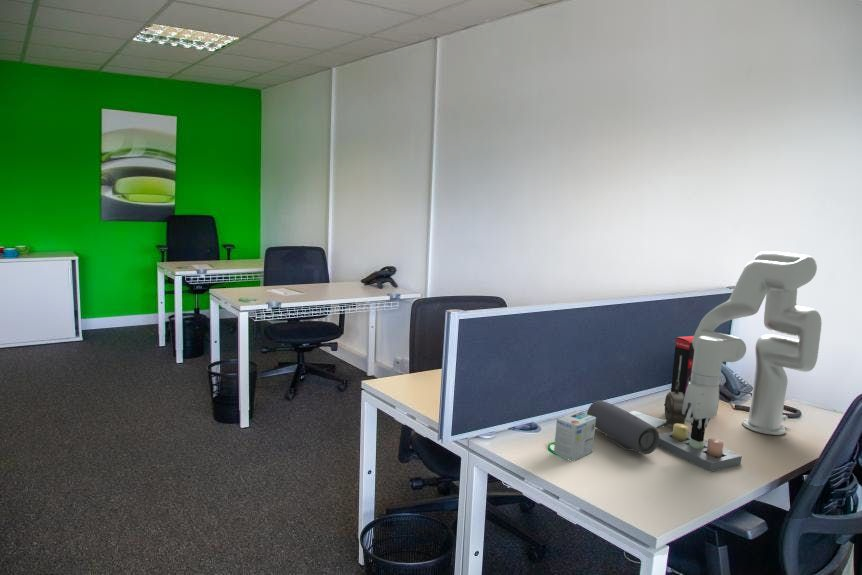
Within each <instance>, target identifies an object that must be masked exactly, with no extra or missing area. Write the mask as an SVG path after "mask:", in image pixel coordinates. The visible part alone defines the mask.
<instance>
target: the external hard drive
mask: <svg viewBox="0 0 862 575" xmlns="http://www.w3.org/2000/svg"><path fill="white" fill-rule="evenodd" d="M629 413H631V414H633V415H634V416H636V417H638V418H640V419H642V420H643V421H645V422H647V423H648V424H650V425H652V426H653V427H654V428H656V429H657V430H659V429H661V428H663V426H664V427H666V426H667V425H666V423H667V422H666V420H665V419H661V418H657V417H655V416H652V415H648V414H645V413H643V412H639V411H636V410H632V411H629ZM665 425H666V426H665Z"/></svg>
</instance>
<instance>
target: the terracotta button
mask: <svg viewBox="0 0 862 575" xmlns="http://www.w3.org/2000/svg"><path fill="white" fill-rule="evenodd" d="M707 441H708V445H707V453H706V454H708V455H710V456H712V457H715V458H720V457H722V452H723V448H724V446H725V445H724V441H723V440H721V439H717V438H708V439H707Z"/></svg>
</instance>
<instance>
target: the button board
mask: <svg viewBox="0 0 862 575" xmlns="http://www.w3.org/2000/svg"><path fill="white" fill-rule="evenodd" d="M672 435H673V431H671V432H664V433H660V434H659V438H660V440H659V444H658V446H657V447H660V448H661V449H663V450H664V451H666V452H669V453H671V454H674V455H676V456H678V457H680V458H681V459H683V458H684V460H685V459H686V461H687V460H688V461H687V462H689V461H690V463H691V462H692V463H691V464H693V463H694V464H693V465H695V464H696V466H697V465H698V467H699V466H700V468H701V467H702V468H701V469H703V468H704V469H703V470H705V469H706V470H705V471H707V470H708V471H707V472H709V471H711V472H715V471H714V470H716V471H719V470H718V469H720V470H723V468H724V469H727V467H728V468H731V467H736V466H740V465H741V464H742V457H743V456H742V455H740V454H738V453H736V452H734V451H732V450H729V449H727V448H726V447H723V452H722V457H720V458H715V457H712V456H710V455H708V454H706V453H707V445H708V439H704V441H705V442H704V449H699V450H697V449H695V448H693V447H691V446H689V440H690V437H691V432H687V440H686V441H678V440H676V439H674V438H672Z"/></svg>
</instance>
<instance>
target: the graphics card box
mask: <svg viewBox="0 0 862 575" xmlns="http://www.w3.org/2000/svg"><path fill="white" fill-rule="evenodd" d="M693 338H694V335H690V336H689V335H688V336H677V337H676V338H675V348H674V355H673V356H674V357H673V358H674V359H673V366H672V377H671V387H670V392H675V391H676V390H675V389H676V386H677V388H678V381H677V380H679V390H678V392H682V393H683V394H684V397H685V393H686V390H687V387H688V384H689V383H690V380H691V373H692V365H693V358H694V348H693ZM676 381H677V384H676ZM686 416H687V415H686Z"/></svg>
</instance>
